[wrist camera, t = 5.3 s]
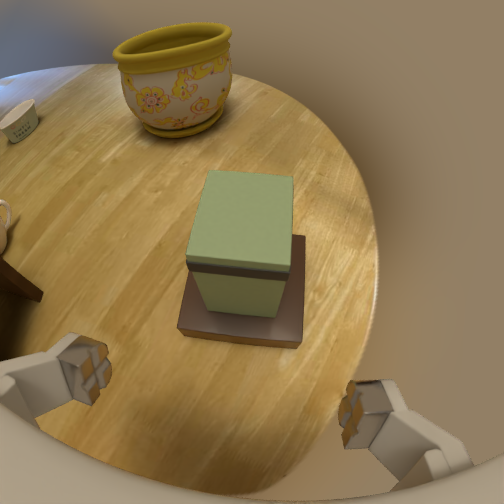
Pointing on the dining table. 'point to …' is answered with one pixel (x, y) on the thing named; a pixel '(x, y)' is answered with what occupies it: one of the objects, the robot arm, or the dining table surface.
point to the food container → (20, 121)
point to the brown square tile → (245, 326)
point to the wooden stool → (17, 283)
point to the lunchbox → (242, 242)
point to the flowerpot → (177, 77)
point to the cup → (4, 226)
